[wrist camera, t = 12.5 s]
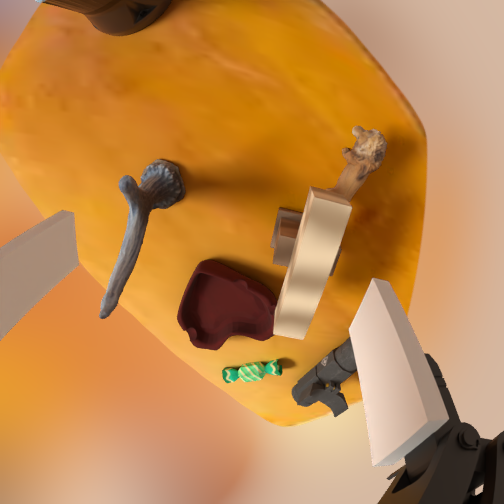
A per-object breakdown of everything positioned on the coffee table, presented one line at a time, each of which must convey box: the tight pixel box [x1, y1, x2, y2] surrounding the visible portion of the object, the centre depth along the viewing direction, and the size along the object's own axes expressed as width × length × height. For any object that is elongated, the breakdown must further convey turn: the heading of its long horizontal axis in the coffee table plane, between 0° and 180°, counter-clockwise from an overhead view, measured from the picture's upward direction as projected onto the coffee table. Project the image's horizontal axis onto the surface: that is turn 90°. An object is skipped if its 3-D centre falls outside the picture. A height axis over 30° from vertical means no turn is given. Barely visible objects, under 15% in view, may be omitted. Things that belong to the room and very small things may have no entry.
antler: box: [99, 159, 185, 319], centre depth 31 cm, size 12×8×25 cm
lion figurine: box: [326, 126, 387, 202], centre depth 34 cm, size 15×5×9 cm, turn 160°
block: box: [273, 186, 352, 340], centre depth 33 cm, size 18×4×5 cm, turn 169°
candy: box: [222, 359, 282, 383], centre depth 55 cm, size 12×3×4 cm
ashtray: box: [177, 260, 278, 350], centre depth 47 cm, size 18×16×5 cm
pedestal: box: [270, 208, 342, 276], centre depth 39 cm, size 6×9×8 cm, turn 80°
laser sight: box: [292, 337, 357, 417], centre depth 49 cm, size 10×22×10 cm, turn 150°
